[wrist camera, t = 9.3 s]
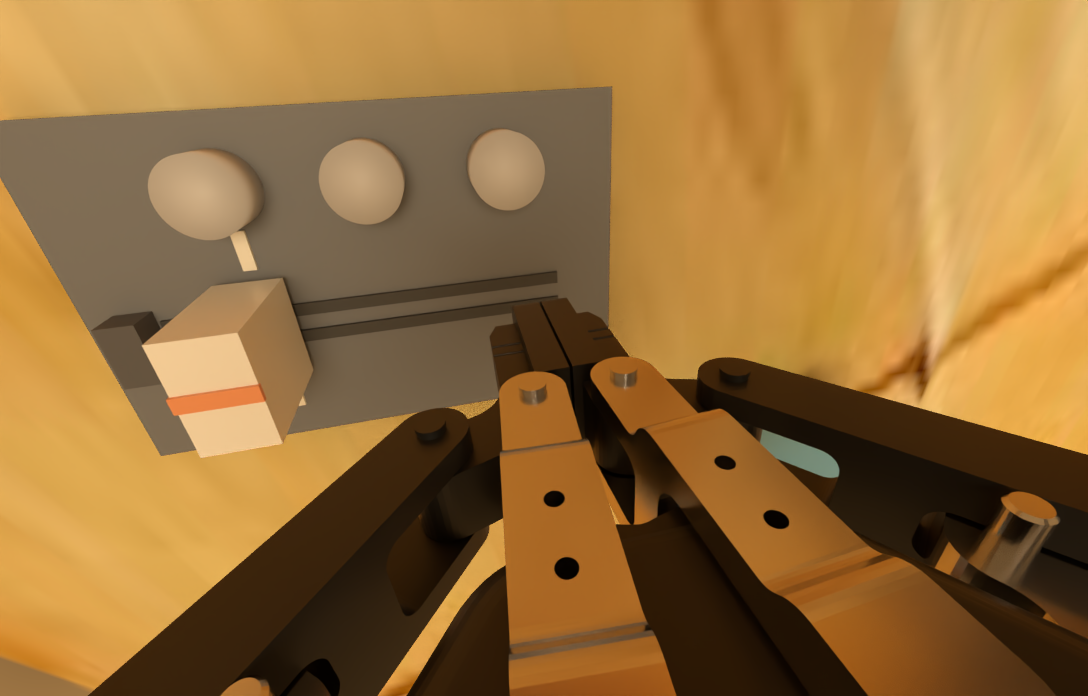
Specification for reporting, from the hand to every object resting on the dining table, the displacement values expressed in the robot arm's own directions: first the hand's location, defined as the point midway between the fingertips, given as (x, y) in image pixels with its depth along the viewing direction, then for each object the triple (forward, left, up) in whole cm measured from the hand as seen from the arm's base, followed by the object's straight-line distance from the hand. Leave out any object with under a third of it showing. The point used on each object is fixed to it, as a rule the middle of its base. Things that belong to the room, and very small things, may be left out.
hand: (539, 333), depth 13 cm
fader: (+11, +4, -12) cm, 17 cm away
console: (+6, +2, -14) cm, 15 cm away
